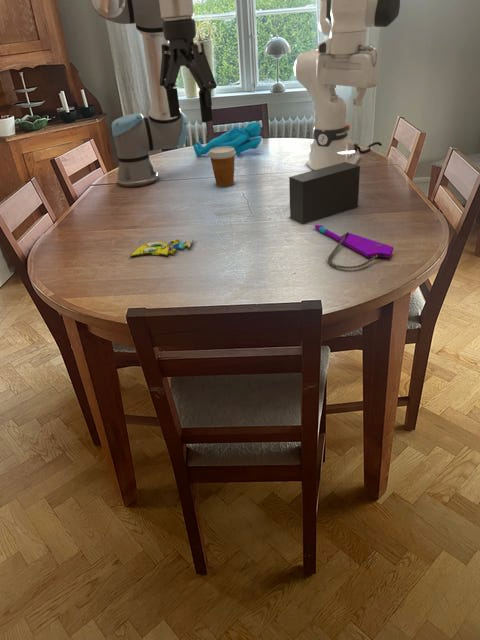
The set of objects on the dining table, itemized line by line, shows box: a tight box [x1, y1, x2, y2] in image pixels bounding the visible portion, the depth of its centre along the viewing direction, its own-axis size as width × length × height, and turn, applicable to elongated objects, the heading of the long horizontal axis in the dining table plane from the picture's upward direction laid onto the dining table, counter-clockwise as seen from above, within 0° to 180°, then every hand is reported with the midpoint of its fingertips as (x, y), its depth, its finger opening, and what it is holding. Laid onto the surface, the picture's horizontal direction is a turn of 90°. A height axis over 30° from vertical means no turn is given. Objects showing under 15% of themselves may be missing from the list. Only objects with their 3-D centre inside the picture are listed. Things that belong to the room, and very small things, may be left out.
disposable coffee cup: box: [208, 146, 236, 187], centre depth 169 cm, size 10×10×12 cm
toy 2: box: [192, 121, 263, 157], centre depth 205 cm, size 17×11×30 cm
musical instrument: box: [314, 224, 394, 269], centre depth 119 cm, size 24×2×20 cm
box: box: [288, 162, 361, 225], centre depth 139 cm, size 20×6×12 cm, turn 121°
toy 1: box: [130, 238, 194, 258], centre depth 128 cm, size 10×1×15 cm
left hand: (190, 119), depth 120 cm, fingers open, 13 cm apart
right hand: (345, 104), depth 129 cm, fingers open, 8 cm apart
